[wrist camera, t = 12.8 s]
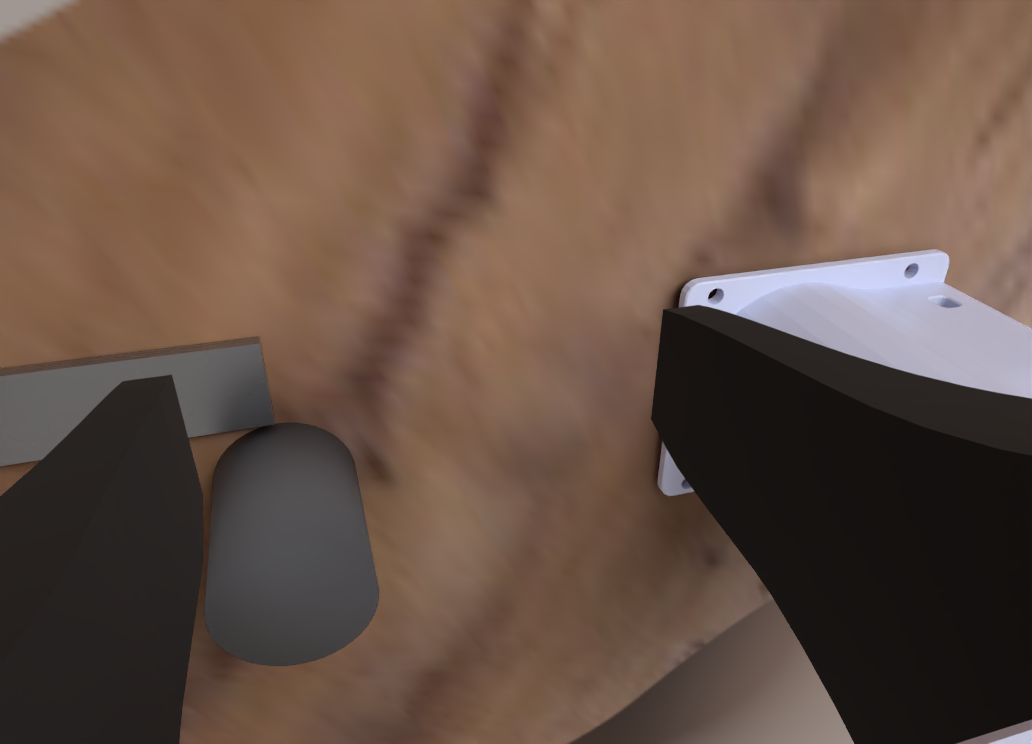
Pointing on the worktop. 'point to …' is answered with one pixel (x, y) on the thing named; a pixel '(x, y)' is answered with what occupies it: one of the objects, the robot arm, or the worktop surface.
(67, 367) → the rail
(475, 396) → the worktop surface
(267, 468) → the plug
